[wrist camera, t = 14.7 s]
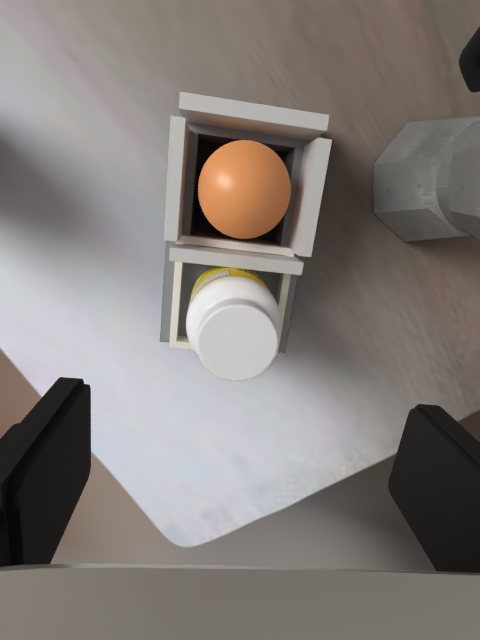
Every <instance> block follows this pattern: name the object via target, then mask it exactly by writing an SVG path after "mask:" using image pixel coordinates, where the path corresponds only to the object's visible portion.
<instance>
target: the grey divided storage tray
mask: <svg viewBox="0 0 480 640" xmlns="http://www.w3.org/2000/svg"><path fill="white" fill-rule="evenodd" d="M328 120H329V115H325V114H319V113H313V112H306V111H300V110H293V109H287V108H281V107H274V106H268V105H262V104H255V103H249V102H242V101H236V100H230V99H223V98H217V97H210V96H204V95H198V94H191V93H185V92H180V93H177V92H175V102H174V116H171V121H170V138H169V155H168V172H167V189H166V206H165V223H164V240H166V251H165V267H164V284H163V300H162V317H161V333H160V342H169V347H170V348H181V349H193V348H192V346H191V344H190V342H189V340H188V336H187V332H186V317H187V312H188V307H189V303H190V299H191V294H192V290H193V287H194V284H195V282H196V280H197V278H198V277H199V276H200V275H201V273H202V272H203V271H204V270H206V269H207V268H208V267H210V266H212V265H213V266H222V267H231V268H240V269H249V270H254V271H255V272H256V273H257V274H258V275H259V276H260V277H261V279H262V280H263V282H264V283H265V285H266V286H267V287H268V289H269V291H270V292H271V294H272V295H273V297H274V299H275V300H276V302H277V305H278V307H279V310H280V313H281V319H282V328H281V334H280V338H279V340H278V350H277V353H276V356H275V357H277V356H278V352H283V353H285V348H286V342H287V336H288V330H289V324H290V319H291V313H292V307H293V301H294V295H295V289H296V284H297V278H298V275H302V270H303V264H304V263H303V262H302V261H301V256H306V257H311V255H312V249H313V243H314V238H315V232H316V227H317V221H318V216H319V210H320V204H321V199H322V193H323V188H324V182H325V177H326V171H327V165H328V160H329V154H330V149H331V143H332V140H331V139H324V138H322V133H324V132H326V131H327V126H328ZM238 140H251V141H255V142H259V143H261V144H264V145H265V146H267V147H269V148H270V149H272V150H273V151H275V152H282V153H287V157H286V163H285V166H286V169H287V171H288V174H289V178H290V184H291V195H290V201H289V205H288V208H287V210H286V212H285V214H284V216H283V217H282V219H281V220H280V222H279V223H278V224H277V225H276V231H275V238H274V241H268V240H260V239H251V238H249V239H239V238H234V237H231V236H226V235H218V234H209V233H201V232H192V230H193V218H194V206H195V193H196V181H197V169H198V156H199V144H200V141H206V142H213V143H220V144H228V143H230V142H234V141H238Z"/></svg>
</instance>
